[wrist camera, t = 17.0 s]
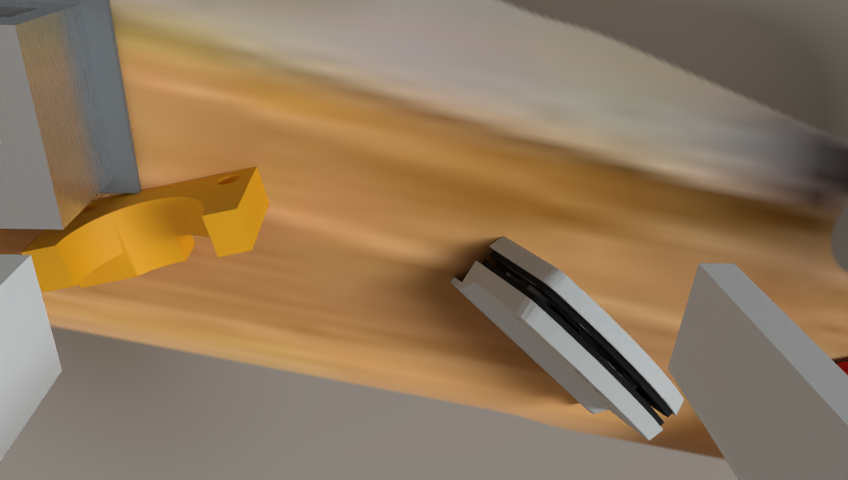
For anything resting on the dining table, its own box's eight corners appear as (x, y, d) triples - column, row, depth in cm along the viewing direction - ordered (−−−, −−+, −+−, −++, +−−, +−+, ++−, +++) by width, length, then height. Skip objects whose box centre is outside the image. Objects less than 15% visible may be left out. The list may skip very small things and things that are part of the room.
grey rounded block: (446, 278, 44) (509, 330, 35) (491, 228, 44) (566, 266, 35) (582, 406, 50) (666, 478, 41) (621, 361, 51) (713, 423, 41)
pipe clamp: (101, 262, 42) (57, 317, 36) (71, 203, 40) (20, 252, 34) (277, 226, 41) (261, 276, 36) (257, 165, 39) (236, 208, 34)
